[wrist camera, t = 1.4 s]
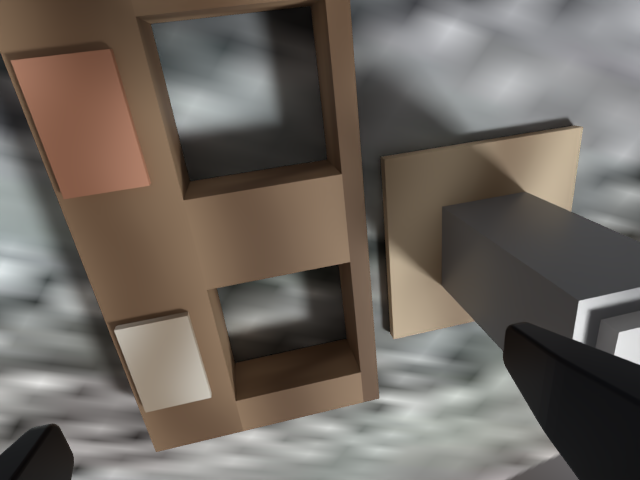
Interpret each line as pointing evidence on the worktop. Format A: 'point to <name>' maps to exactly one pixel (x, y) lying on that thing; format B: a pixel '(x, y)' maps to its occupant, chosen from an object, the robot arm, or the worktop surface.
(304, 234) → the socket strip
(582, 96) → the worktop surface
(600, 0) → the worktop surface
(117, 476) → the worktop surface
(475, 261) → the plug
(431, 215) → the pad
